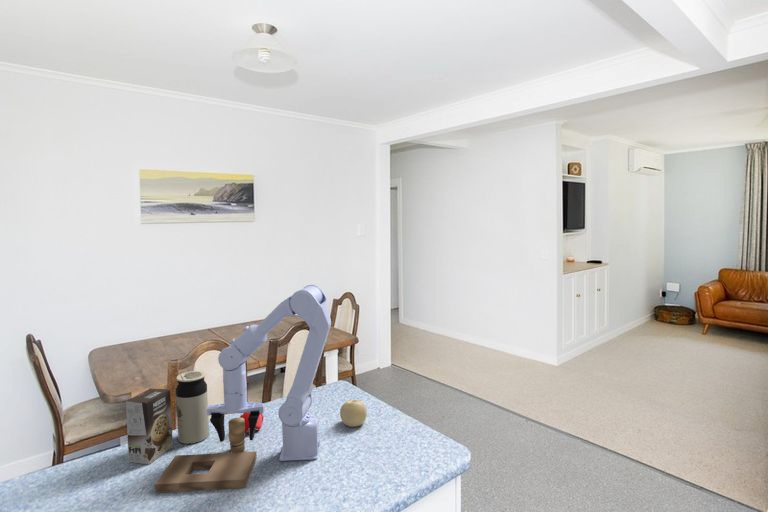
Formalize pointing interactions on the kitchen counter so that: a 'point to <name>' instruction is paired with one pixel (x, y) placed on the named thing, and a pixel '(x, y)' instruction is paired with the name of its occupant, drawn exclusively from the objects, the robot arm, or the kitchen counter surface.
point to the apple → (353, 413)
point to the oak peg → (237, 435)
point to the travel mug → (192, 407)
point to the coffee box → (149, 425)
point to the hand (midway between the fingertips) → (237, 439)
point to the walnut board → (222, 475)
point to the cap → (245, 416)
